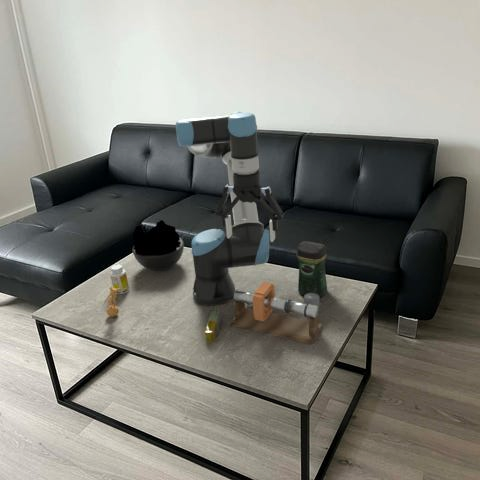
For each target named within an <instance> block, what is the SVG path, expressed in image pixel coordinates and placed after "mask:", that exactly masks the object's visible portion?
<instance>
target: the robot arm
mask: <svg viewBox="0 0 480 480" xmlns="http://www.w3.org/2000/svg"><path fill="white" fill-rule="evenodd" d="M256 119H257V117H256V115H255V114H254V113H251V112H243V111H234V112H232V113H230V114H227V115H219V116H211V117H210V116H209V117H201V118H200V117H198V118H186V119H182V120H178V121H176V123H175V132H176V133H175V134H176V139H177V144H178V145H179V146H180V147H187V149H188V151H190V153H192V154H193V155H195V156H196V157H197V156H198V157H201V158H205V159H219V158H221V160H222V163H223V164H225V165H226V166H227V175H228V183H227V184H225V186H223V193H222V196H221V198H220V201H219V203H218V207H217V208H216V212H215V216H217V217H221V219H222V226H223V228H225V230H226V232H225V231H224V230H223V229H218V228H211V229H207V230H203V231H201V232H199V233H198V234H196V235H195V236H194V237H193V238H192V240H191V255H192V259H193V267H194V275H195V278H194V282H193V287H192V296H193V299H194V301H195V302H196V303H199V304H201V305H204V306H219V305H222V304H226V303H227V302H230V301H231V300H232V299H234V293H235V291H236V290H237V289H236V285H235V283H234V281H233V279H232V276H231V275H230V273H229V272H230V271H229V269H231V268H242V267H250V266H254V267H255V266H257V265H265V264H266V263H268V261H269V258H270V257H269V256H270V242H271V243H274V240H275V239H276V231H277V230H278V229H279V221H281V220H282V219H283V217H284V215H285V214H284V212H283V209H282V208H281V206H280V205H279V203H278V201H277V200H276V198H275V197H276V196H275V195H274V194H273V191H272V190H273V189H272V186H270V185H268V186H266V187H262V186H261V177H260V163H259V161H260V160H259V159H260V158H259V150H258V133H257V131H258V130H257V129H258V125H257V120H256ZM261 193H262V194H263V195H264V196H265V198H266V200H267V202H268V203H269V204H268V203H267V202H266V201H265V199H264V197H263V196H262V195H261ZM229 196H230V200H231V202H230V204H229V205H228V206H227V207H226V209H225V210H224V208H225V206H226V203H227V200H228V199H229ZM257 207H260V209H261V210H262V212H264V213H265V215H267V217H268V218H269V222H268V223H269V230H268V229H266V228H265V226H264V224H263V223H262V222H260V221H259V215H258V209H257ZM231 211H232V216H233V218H232V216H231V214H229V213H230V212H231ZM232 219H233V225H232Z"/></svg>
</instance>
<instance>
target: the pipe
mask: <svg viewBox="0 0 480 480" xmlns="http://www.w3.org/2000/svg"><path fill="white" fill-rule="evenodd" d="M235 290H236V291H235V293H234V297H233V301H234V302H236V301H237V302H242V303H245V305H246V304H247V305H250V306H253V295H254V294H255V292H250V291H245V290H240V289H235ZM264 307H265V308H270V309H273V310H275V311H281V312H284V313H286V314H289V313H291V314H294V315H299V316H302V317H303V316H304V317H305V318H308V317H309V318H310V317H313V318H316V317H317V314H318V306H315V305H310V304H309V303H307V304H305V303H304V302H299V301H296V300H295V301H294V300H291V299H290V298H289V299H285V298H279V297H276V296H275V297H270V296H266V297H265V300H264Z"/></svg>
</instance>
